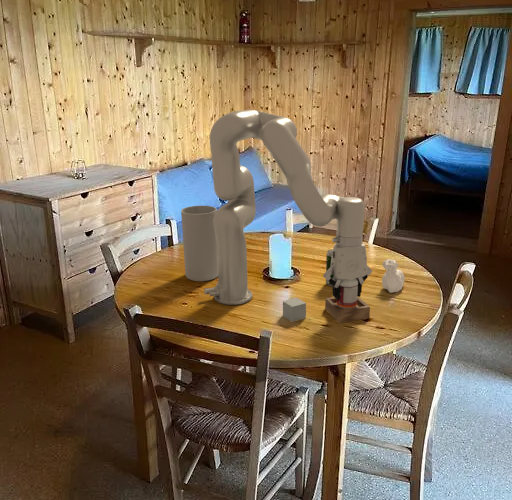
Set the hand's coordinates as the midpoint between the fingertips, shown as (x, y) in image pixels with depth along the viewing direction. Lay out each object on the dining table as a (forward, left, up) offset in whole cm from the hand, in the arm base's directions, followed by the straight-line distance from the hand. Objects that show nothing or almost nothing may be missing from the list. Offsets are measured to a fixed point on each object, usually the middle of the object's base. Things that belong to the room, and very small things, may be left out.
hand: (346, 296), depth 158 cm
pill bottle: (0, 0, -3) cm, 3 cm away
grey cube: (-16, +3, -6) cm, 17 cm away
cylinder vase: (-36, +46, -6) cm, 59 cm away
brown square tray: (0, 0, -6) cm, 6 cm away
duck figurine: (+23, +13, -6) cm, 27 cm away
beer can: (+6, +23, -6) cm, 24 cm away
